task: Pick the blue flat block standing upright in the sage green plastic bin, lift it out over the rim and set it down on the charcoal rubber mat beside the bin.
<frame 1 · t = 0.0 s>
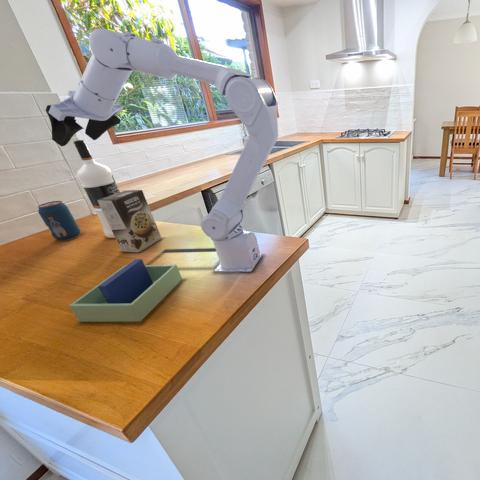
hand: (75, 139, 62), 32 cm above the table, tool tilted 50°, fingers open, 7 cm apart
soda can: (69, 237, 97), on the table
coffee box: (143, 245, 88), on the table
vodka: (123, 233, 97), on the table
blue flat block: (135, 298, 63), resting on bin
bin: (136, 299, 64), on the table
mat: (188, 259, 78), on the table
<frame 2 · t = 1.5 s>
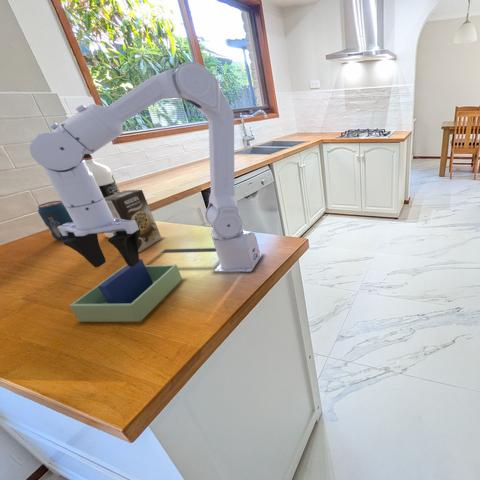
hand: (117, 264, 59), 9 cm above the table, tool pointing down, fingers open, 7 cm apart
nothing on the table moved.
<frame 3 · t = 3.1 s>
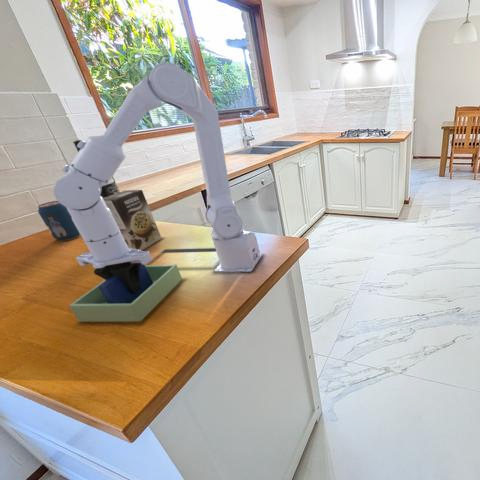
hand: (131, 291, 62), 2 cm above the table, tool pointing down, fingers closed on blue flat block, 2 cm apart
blue flat block: (135, 298, 63), point 1 cm above the table, touching bin, gripper
everything else where it was.
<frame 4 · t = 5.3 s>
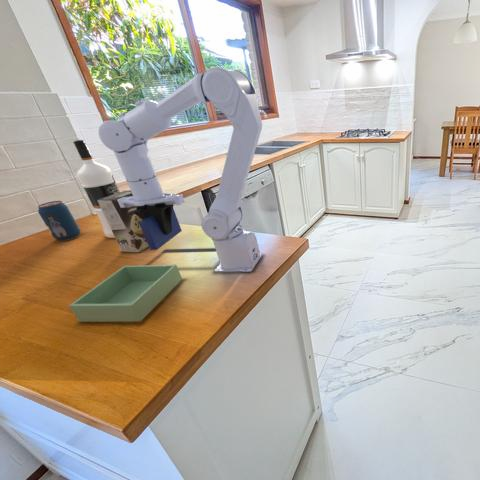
hand: (164, 233, 70), 10 cm above the table, tool pointing down, fingers closed on blue flat block
blue flat block: (167, 239, 71), point 8 cm above the table, touching gripper
everything else where it was.
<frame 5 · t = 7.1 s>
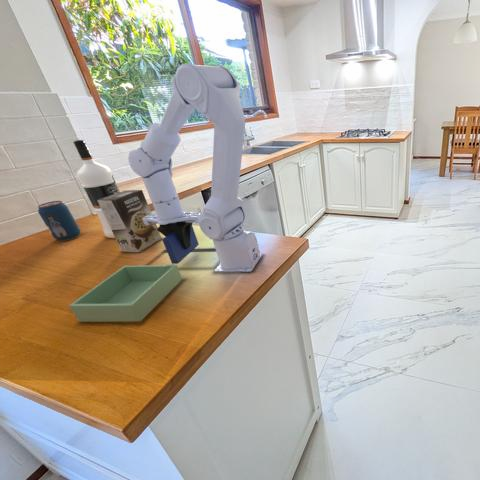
hand: (183, 247, 77), 4 cm above the table, tool pointing down, fingers closed on blue flat block, 1 cm apart
blue flat block: (186, 253, 78), point 2 cm above the table, touching gripper
everything else where it was.
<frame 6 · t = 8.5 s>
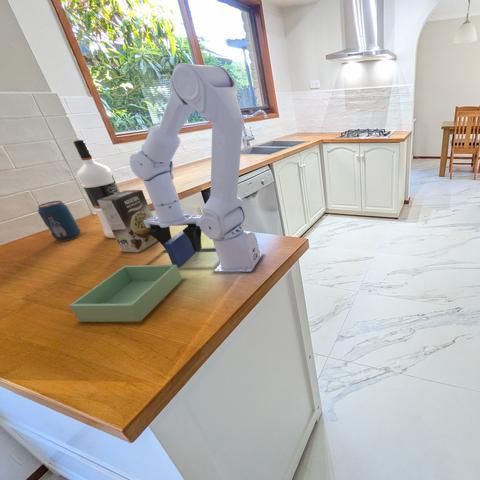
hand: (184, 250, 77), 3 cm above the table, tool pointing down, fingers open, 7 cm apart
blue flat block: (187, 257, 78), resting on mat
everything else where it was.
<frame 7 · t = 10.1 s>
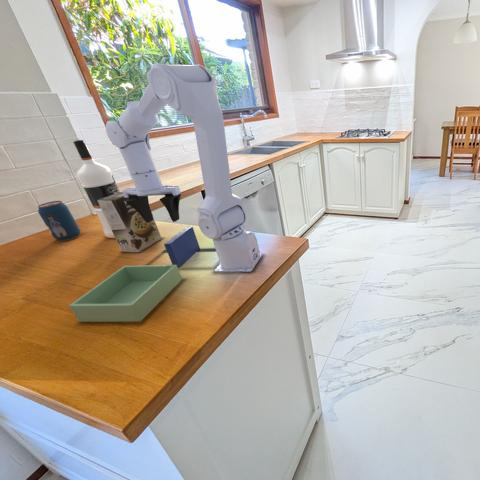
hand: (163, 220, 79), 9 cm above the table, tool pointing down, fingers open, 7 cm apart
nothing on the table moved.
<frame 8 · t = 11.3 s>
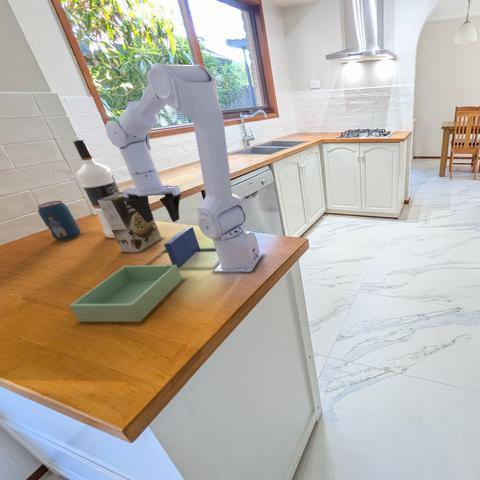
hand: (163, 220, 79), 9 cm above the table, tool pointing down, fingers open, 7 cm apart
nothing on the table moved.
at the end: blue flat block inside the target area (0.0 cm from its centre), resting on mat; blue flat block touching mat; the gripper is holding nothing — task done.
